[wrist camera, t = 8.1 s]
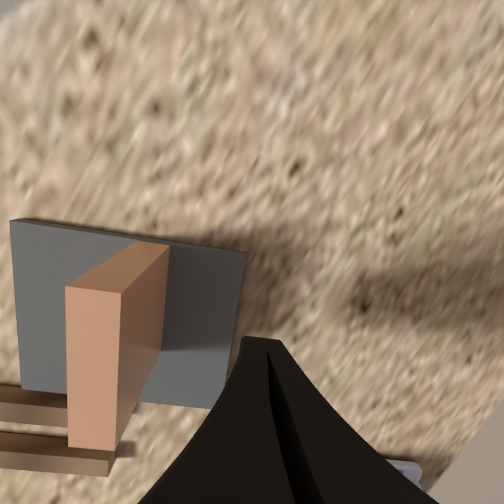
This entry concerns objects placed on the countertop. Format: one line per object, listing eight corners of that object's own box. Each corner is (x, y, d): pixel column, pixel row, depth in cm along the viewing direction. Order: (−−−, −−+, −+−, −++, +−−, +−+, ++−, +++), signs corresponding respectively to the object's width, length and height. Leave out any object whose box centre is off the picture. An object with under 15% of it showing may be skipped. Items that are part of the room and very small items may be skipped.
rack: (118, 397, 15) (109, 413, 14) (115, 458, 16) (107, 477, 15) (-20, 382, 14) (-39, 398, 13) (-12, 447, 15) (-29, 465, 14)
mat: (246, 252, 13) (246, 256, 12) (221, 401, 15) (220, 410, 14) (20, 218, 12) (9, 220, 11) (30, 380, 14) (21, 389, 14)
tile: (161, 351, 13) (115, 451, 9) (131, 347, 13) (68, 446, 8) (170, 245, 12) (121, 293, 7) (137, 240, 12) (65, 286, 7)
